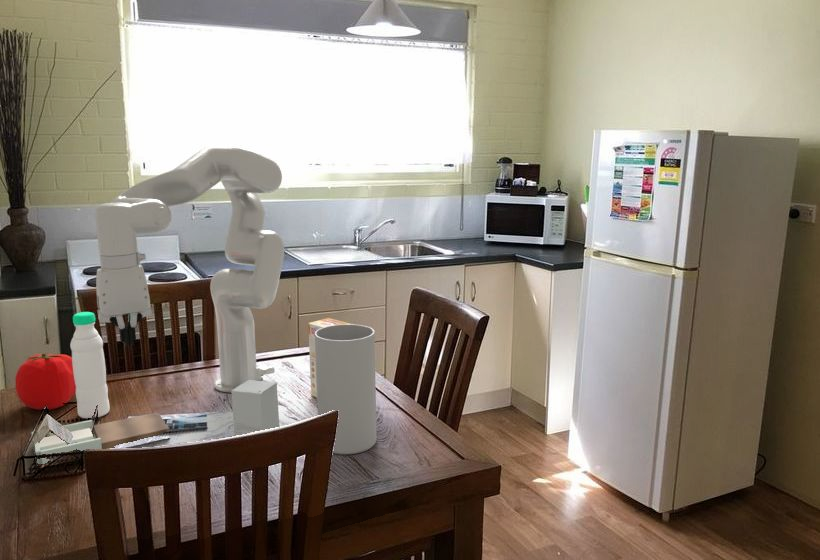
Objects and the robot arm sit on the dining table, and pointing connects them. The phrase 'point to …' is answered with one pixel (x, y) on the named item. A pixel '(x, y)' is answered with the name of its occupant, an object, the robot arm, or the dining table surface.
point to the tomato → (45, 381)
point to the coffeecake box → (312, 329)
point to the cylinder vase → (348, 383)
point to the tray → (82, 445)
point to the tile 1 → (51, 442)
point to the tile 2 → (82, 435)
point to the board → (130, 429)
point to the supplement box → (255, 406)
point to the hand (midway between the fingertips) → (128, 344)
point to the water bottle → (89, 367)
